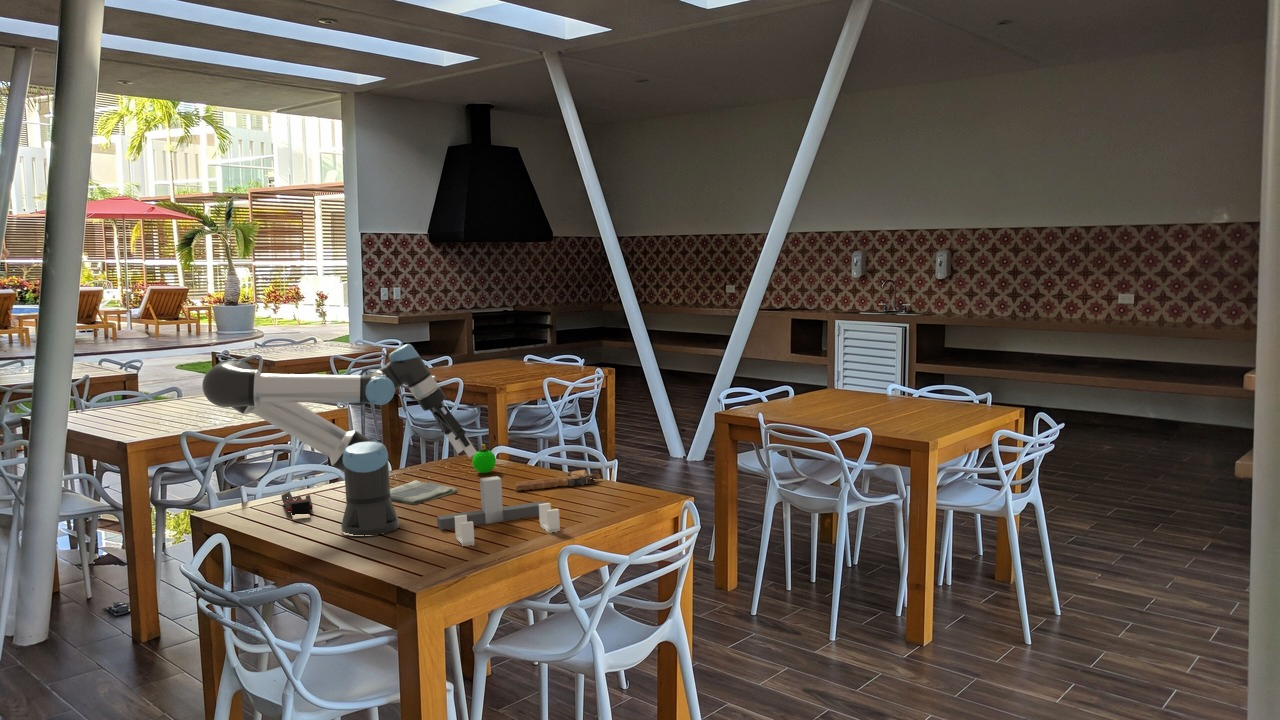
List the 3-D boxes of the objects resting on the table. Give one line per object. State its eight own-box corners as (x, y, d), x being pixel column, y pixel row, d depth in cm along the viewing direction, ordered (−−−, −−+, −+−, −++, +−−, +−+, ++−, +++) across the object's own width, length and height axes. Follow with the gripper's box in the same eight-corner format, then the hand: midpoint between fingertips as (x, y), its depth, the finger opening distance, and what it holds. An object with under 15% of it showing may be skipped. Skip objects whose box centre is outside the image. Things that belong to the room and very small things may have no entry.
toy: (280, 504, 296) (288, 521, 269) (279, 489, 295) (287, 504, 268) (308, 500, 299) (318, 517, 272) (306, 485, 299) (317, 500, 272)
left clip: (462, 546, 237) (461, 523, 236) (455, 538, 245) (454, 516, 244) (474, 545, 238) (473, 522, 237) (467, 536, 246) (465, 514, 245)
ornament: (500, 470, 324) (499, 442, 323) (490, 476, 316) (488, 447, 315) (479, 470, 326) (478, 442, 325) (468, 475, 319) (467, 446, 318)
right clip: (549, 533, 246) (548, 511, 245) (539, 525, 254) (538, 504, 253) (560, 531, 247) (559, 509, 246) (550, 524, 255) (549, 502, 254)
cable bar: (440, 530, 253) (437, 487, 251) (437, 526, 256) (435, 484, 255) (546, 514, 264) (544, 473, 263) (542, 511, 268) (540, 470, 267)
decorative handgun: (510, 476, 306) (516, 484, 291) (593, 467, 313) (603, 474, 299) (511, 486, 306) (517, 494, 291) (594, 476, 313) (604, 484, 299)
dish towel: (413, 507, 281) (413, 496, 281) (376, 499, 292) (376, 489, 291) (460, 493, 296) (459, 483, 295) (423, 487, 306) (422, 477, 306)
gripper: (448, 387, 260) (489, 449, 265) (430, 384, 283) (467, 442, 288) (425, 402, 258) (467, 464, 262) (409, 398, 280) (447, 456, 285)
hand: (467, 453), depth 275 cm, fingers open, 13 cm apart
